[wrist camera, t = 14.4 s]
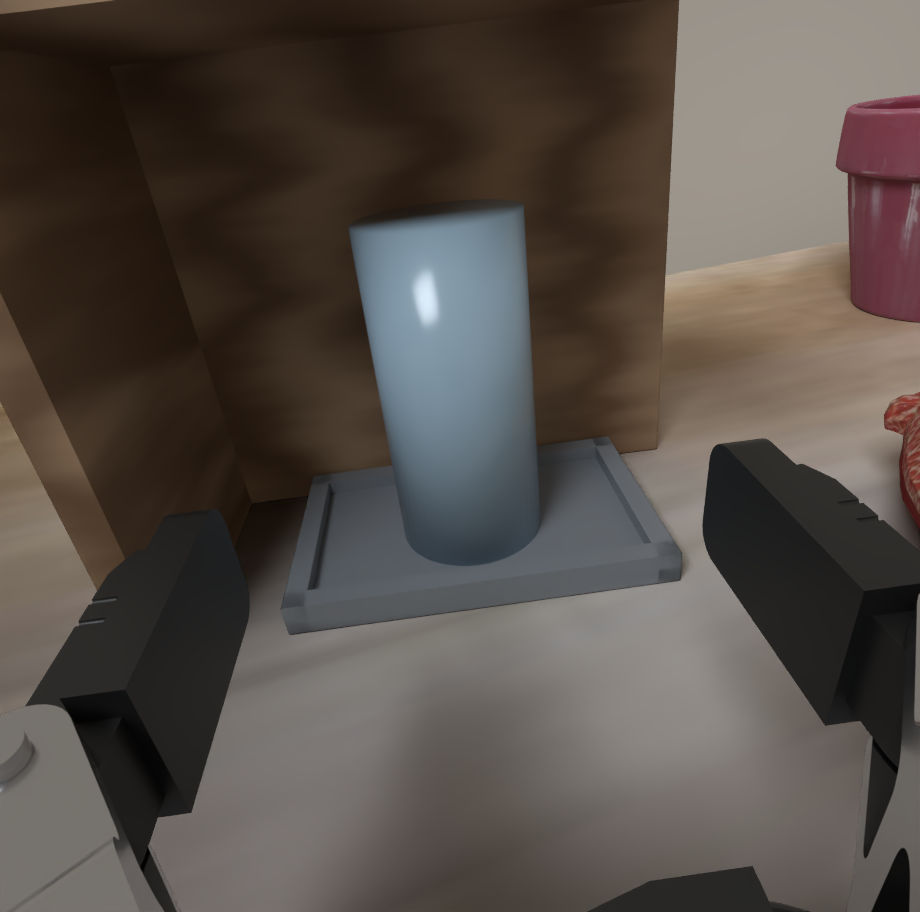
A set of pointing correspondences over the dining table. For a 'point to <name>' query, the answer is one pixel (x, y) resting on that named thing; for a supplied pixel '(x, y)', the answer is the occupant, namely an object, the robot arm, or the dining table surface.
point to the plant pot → (884, 205)
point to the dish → (907, 447)
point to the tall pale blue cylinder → (454, 372)
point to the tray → (469, 587)
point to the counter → (304, 230)
